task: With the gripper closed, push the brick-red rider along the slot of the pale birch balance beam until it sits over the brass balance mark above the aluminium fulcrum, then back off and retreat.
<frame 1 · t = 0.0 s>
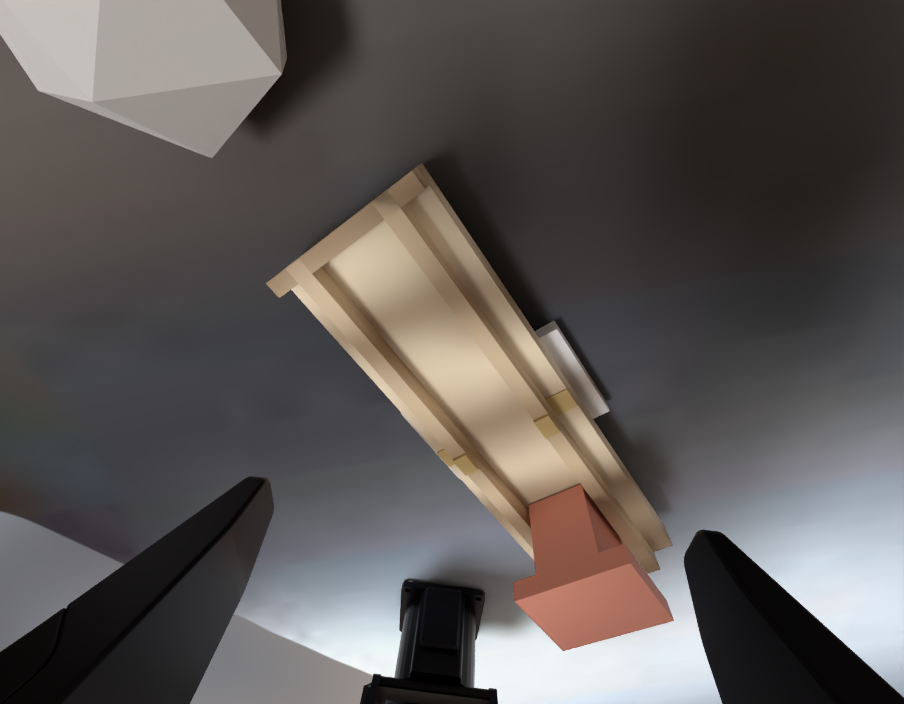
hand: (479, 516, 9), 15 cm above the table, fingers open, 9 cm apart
rider: (583, 561, 24), point 5 cm above the table, slide at 0.0 cm
beam: (502, 402, 26), on the table
die: (217, 17, 18), on the table
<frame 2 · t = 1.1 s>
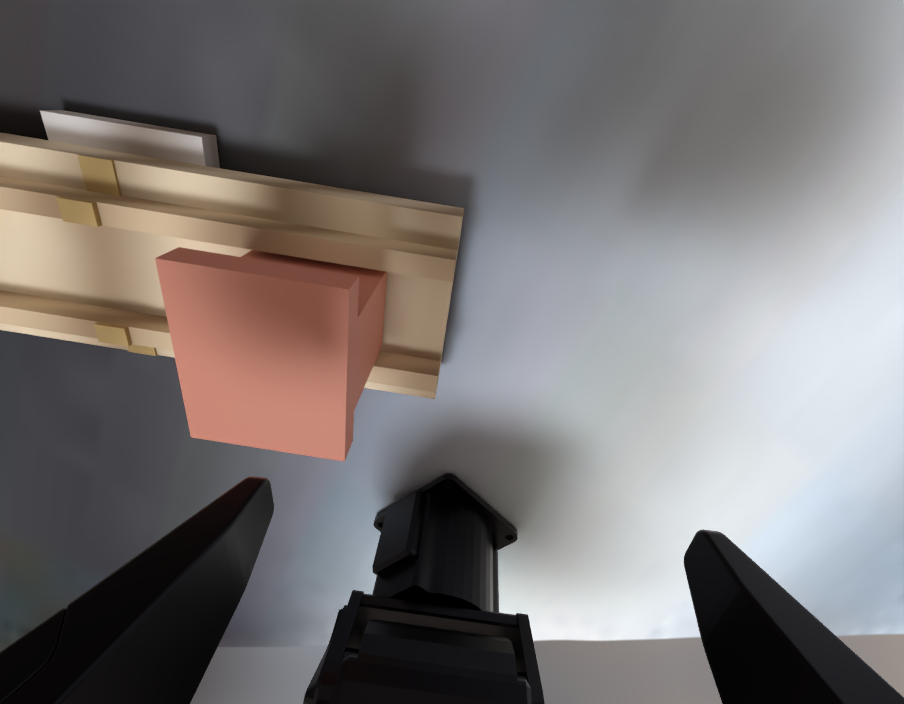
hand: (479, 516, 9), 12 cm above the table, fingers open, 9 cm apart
rider: (296, 330, 15), point 5 cm above the table, slide at 0.0 cm
beam: (163, 248, 20), on the table
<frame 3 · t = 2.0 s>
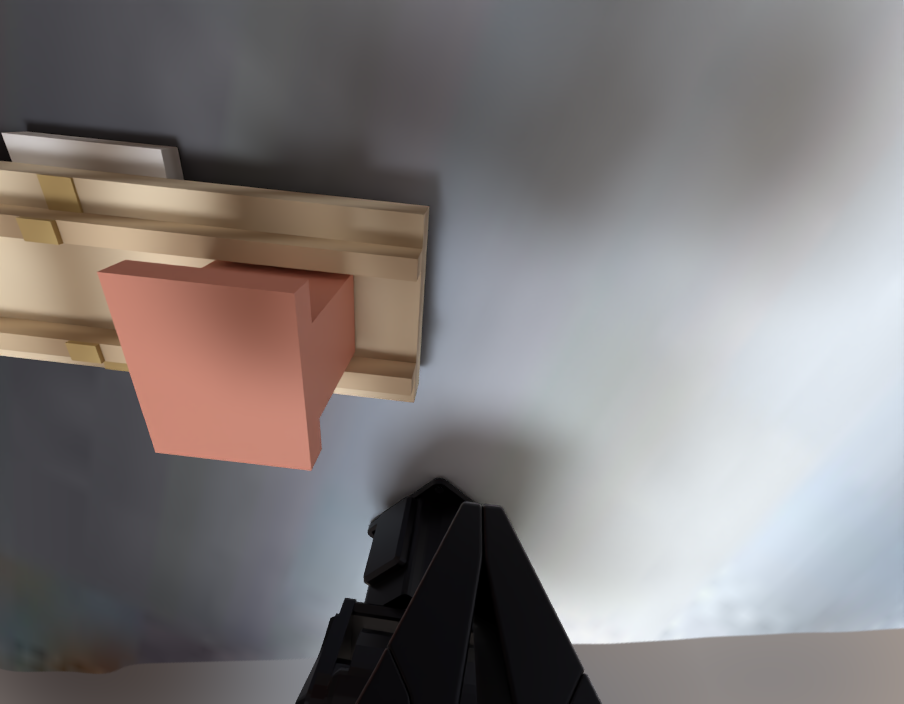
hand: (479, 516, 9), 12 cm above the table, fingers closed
rider: (259, 338, 15), point 5 cm above the table, slide at 0.0 cm
beam: (135, 263, 20), on the table
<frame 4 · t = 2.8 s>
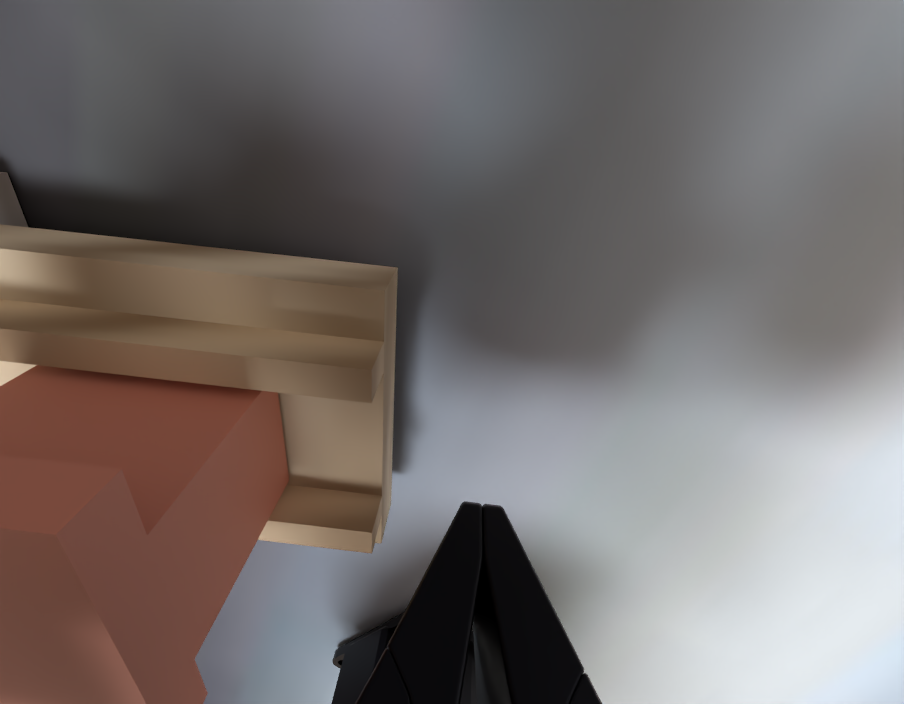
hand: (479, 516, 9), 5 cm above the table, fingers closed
rider: (102, 504, 9), point 5 cm above the table, slide at 0.0 cm
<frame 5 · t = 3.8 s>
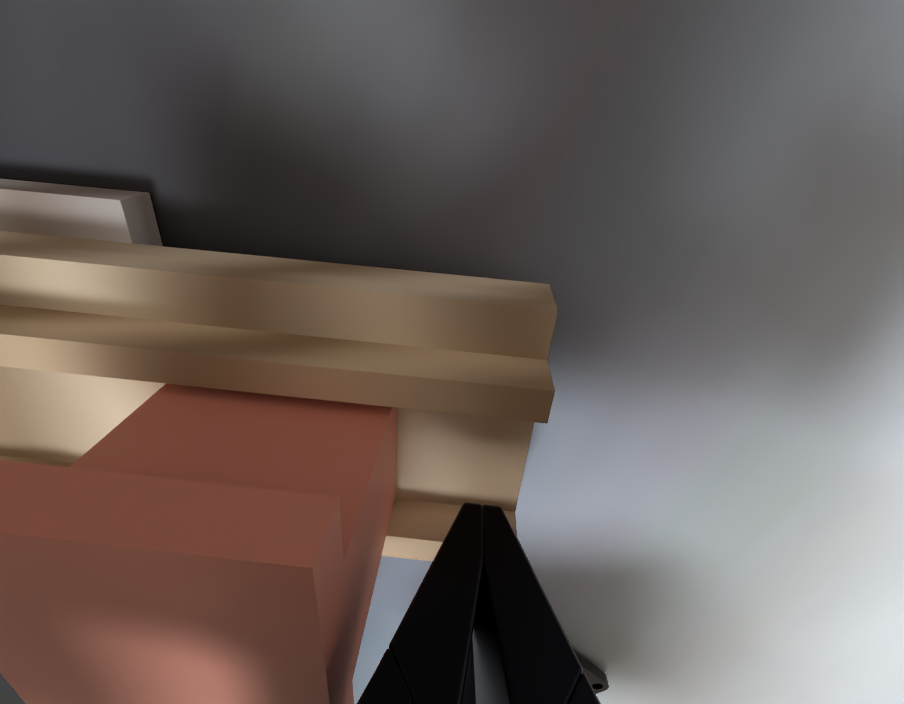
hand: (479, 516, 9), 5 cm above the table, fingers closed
rider: (246, 523, 9), point 5 cm above the table, slide at 0.8 cm, touching gripper
beam: (96, 354, 13), on the table
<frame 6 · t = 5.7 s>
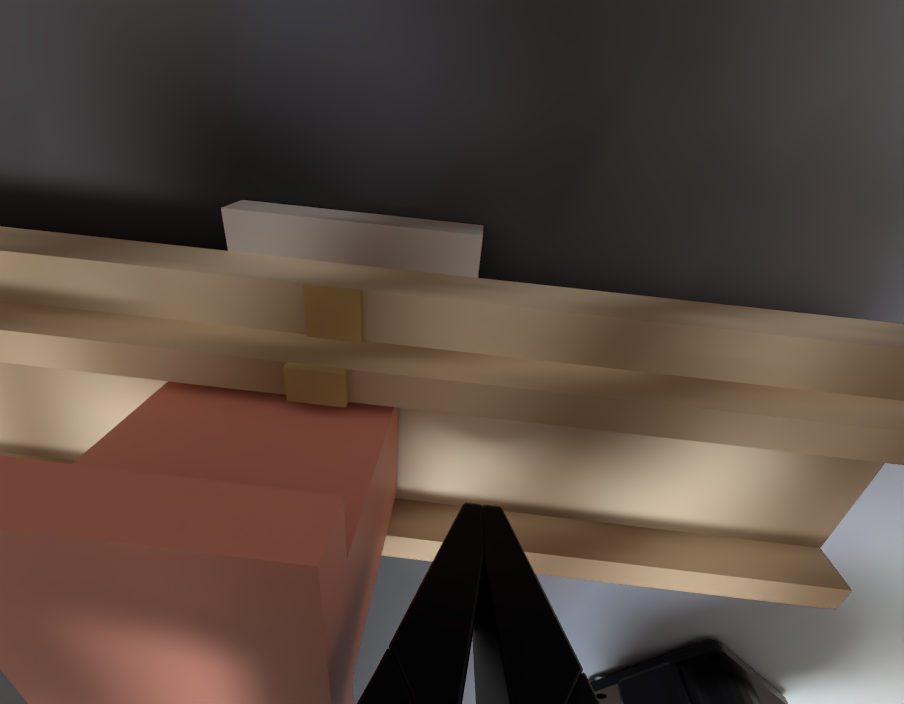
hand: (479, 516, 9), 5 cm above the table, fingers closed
rider: (247, 522, 9), point 5 cm above the table, slide at 9.0 cm, touching gripper
beam: (364, 381, 13), on the table
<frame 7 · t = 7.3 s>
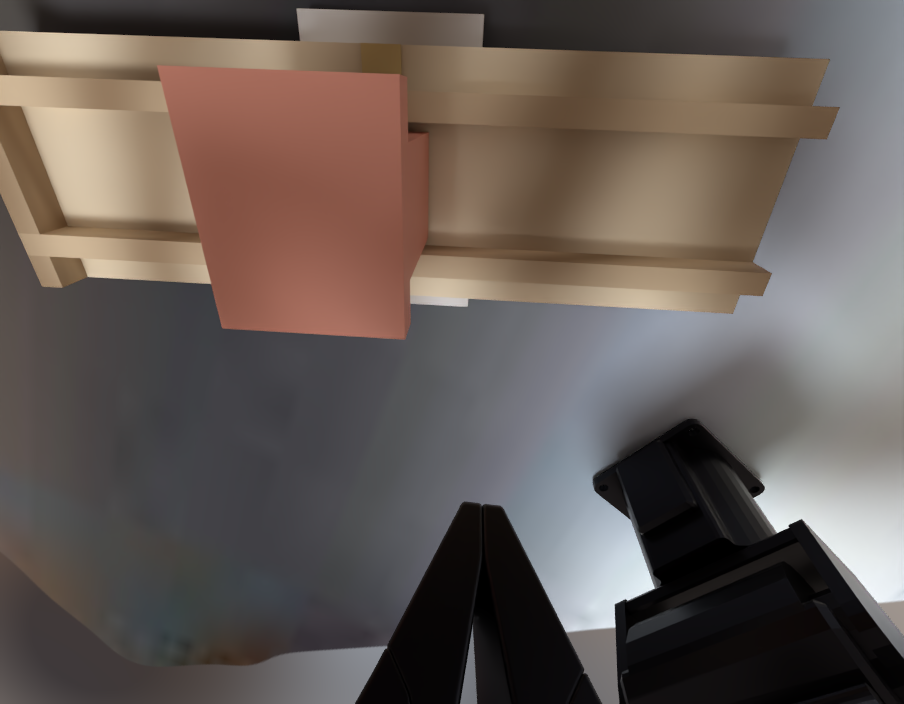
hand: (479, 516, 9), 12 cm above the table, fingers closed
rider: (332, 199, 13), point 5 cm above the table, slide at 9.0 cm
beam: (398, 175, 17), on the table
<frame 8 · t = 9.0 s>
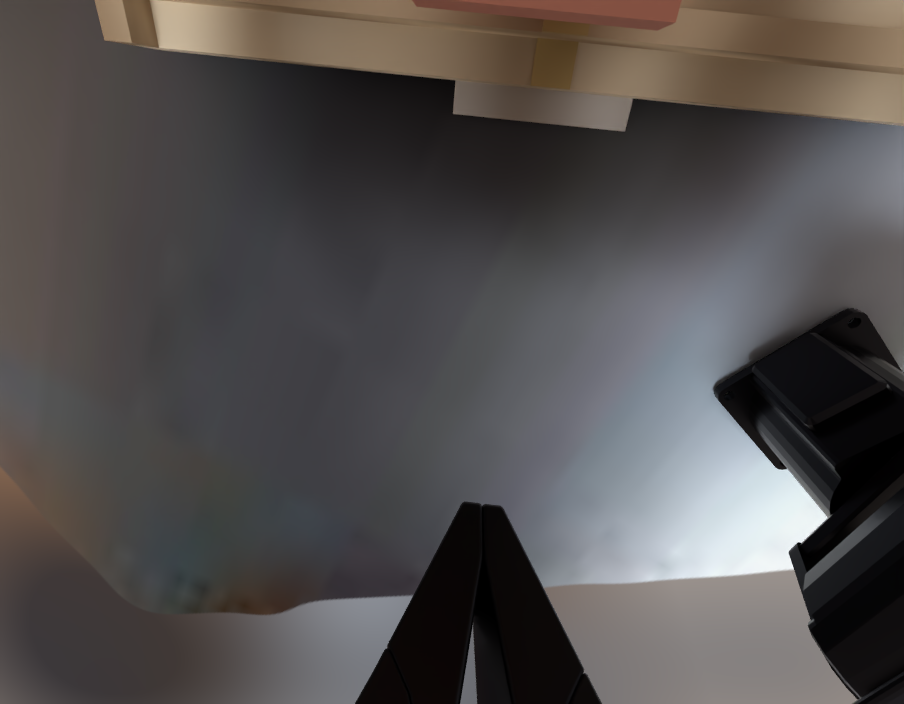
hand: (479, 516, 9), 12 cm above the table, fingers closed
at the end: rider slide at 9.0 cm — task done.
